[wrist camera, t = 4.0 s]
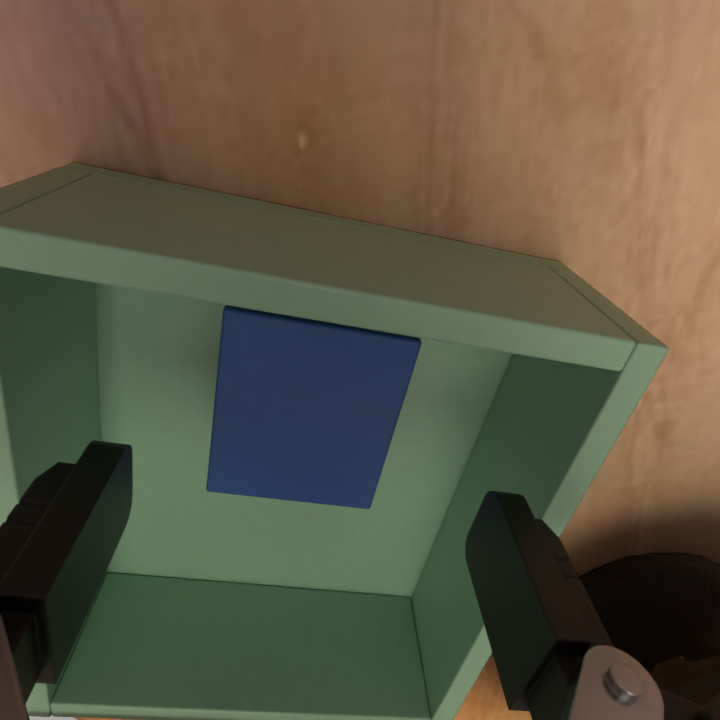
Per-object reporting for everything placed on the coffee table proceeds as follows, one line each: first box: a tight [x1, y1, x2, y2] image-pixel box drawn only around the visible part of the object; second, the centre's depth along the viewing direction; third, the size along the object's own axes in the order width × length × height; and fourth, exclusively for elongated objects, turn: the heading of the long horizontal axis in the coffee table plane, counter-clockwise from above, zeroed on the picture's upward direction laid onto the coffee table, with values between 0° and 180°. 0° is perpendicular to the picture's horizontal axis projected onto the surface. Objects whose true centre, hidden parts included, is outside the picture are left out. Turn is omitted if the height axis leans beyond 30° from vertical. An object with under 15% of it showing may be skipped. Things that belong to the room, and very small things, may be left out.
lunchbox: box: [0, 162, 669, 720], centre depth 16 cm, size 17×15×6 cm
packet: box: [206, 305, 422, 509], centre depth 15 cm, size 5×6×3 cm
